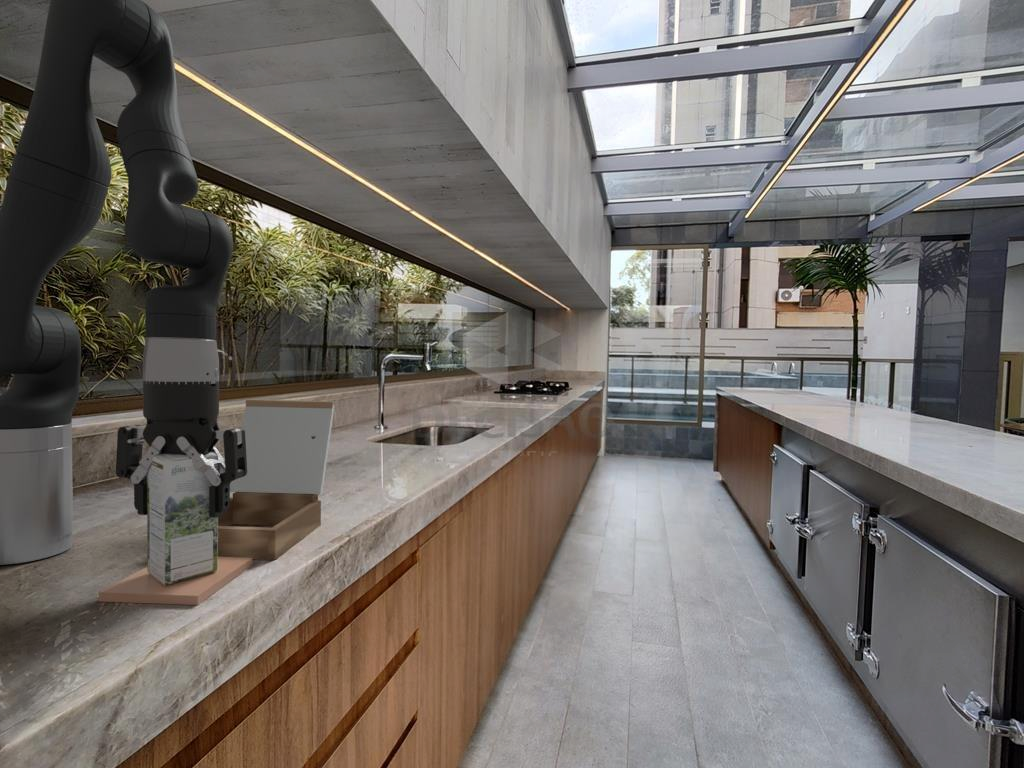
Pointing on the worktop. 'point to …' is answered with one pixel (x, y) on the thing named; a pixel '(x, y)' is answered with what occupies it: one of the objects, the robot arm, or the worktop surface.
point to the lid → (285, 446)
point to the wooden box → (266, 523)
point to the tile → (175, 585)
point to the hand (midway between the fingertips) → (182, 514)
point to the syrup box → (179, 520)
